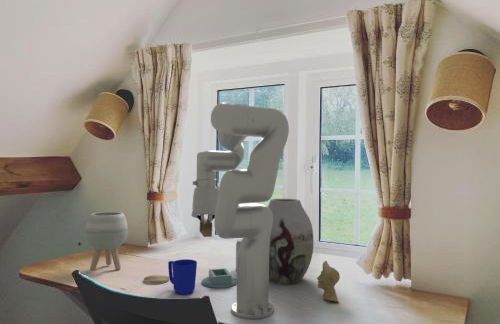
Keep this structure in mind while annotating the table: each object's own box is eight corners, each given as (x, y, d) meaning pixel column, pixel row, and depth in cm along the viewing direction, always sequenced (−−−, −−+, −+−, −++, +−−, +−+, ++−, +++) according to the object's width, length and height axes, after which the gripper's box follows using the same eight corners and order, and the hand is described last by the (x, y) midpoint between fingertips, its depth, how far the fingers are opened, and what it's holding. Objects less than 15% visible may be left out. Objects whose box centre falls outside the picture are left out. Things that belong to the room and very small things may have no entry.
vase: (263, 290, 128) (264, 203, 129) (250, 273, 149) (251, 197, 149) (321, 287, 132) (322, 202, 133) (301, 270, 153) (302, 197, 154)
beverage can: (249, 272, 150) (250, 242, 151) (234, 270, 152) (234, 241, 152) (252, 267, 157) (253, 239, 157) (237, 266, 158) (238, 238, 158)
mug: (178, 284, 134) (178, 256, 134) (201, 291, 127) (202, 262, 127) (159, 289, 128) (159, 260, 128) (182, 298, 120) (183, 266, 120)
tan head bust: (338, 305, 115) (339, 266, 115) (315, 303, 117) (315, 264, 117) (339, 296, 123) (340, 260, 123) (318, 294, 125) (318, 258, 125)
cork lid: (170, 284, 135) (170, 280, 135) (144, 286, 133) (144, 282, 133) (168, 276, 144) (168, 273, 144) (143, 278, 141) (143, 275, 141)
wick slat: (207, 231, 149) (211, 236, 140) (199, 231, 148) (203, 236, 139) (207, 218, 149) (212, 223, 140) (199, 218, 148) (204, 223, 139)
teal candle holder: (241, 286, 133) (241, 276, 133) (205, 289, 129) (205, 279, 129) (232, 275, 145) (232, 266, 145) (199, 278, 141) (199, 268, 141)
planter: (109, 261, 164) (110, 210, 164) (135, 266, 156) (136, 213, 156) (76, 270, 150) (77, 214, 151) (102, 276, 142) (103, 217, 142)
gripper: (187, 184, 138) (187, 235, 138) (228, 184, 142) (227, 233, 142) (185, 183, 145) (184, 231, 145) (223, 183, 149) (223, 229, 149)
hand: (205, 232), depth 144 cm, fingers closed on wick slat
